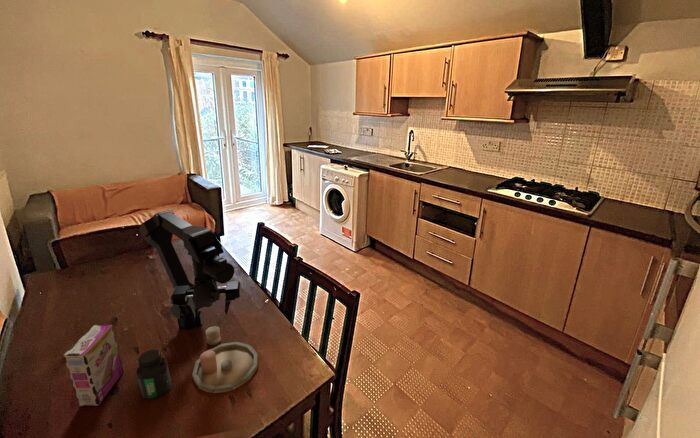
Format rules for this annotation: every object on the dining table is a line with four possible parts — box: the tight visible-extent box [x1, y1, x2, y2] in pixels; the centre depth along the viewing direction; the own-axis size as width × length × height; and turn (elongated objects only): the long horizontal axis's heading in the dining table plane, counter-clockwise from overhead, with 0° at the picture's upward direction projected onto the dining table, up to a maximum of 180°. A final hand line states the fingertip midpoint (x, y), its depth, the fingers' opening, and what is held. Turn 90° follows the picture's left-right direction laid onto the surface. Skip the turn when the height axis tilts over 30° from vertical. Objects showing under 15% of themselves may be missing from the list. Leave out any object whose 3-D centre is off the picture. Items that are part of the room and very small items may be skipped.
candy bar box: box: [63, 324, 124, 407], centre depth 83 cm, size 11×5×16 cm, turn 5°
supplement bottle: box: [136, 348, 172, 401], centre depth 84 cm, size 7×7×12 cm
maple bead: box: [205, 325, 222, 346], centre depth 102 cm, size 4×4×5 cm
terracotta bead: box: [199, 349, 217, 375], centre depth 91 cm, size 4×4×5 cm
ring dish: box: [191, 341, 259, 394], centre depth 93 cm, size 17×17×2 cm
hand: (210, 315), depth 99 cm, fingers open, 9 cm apart
